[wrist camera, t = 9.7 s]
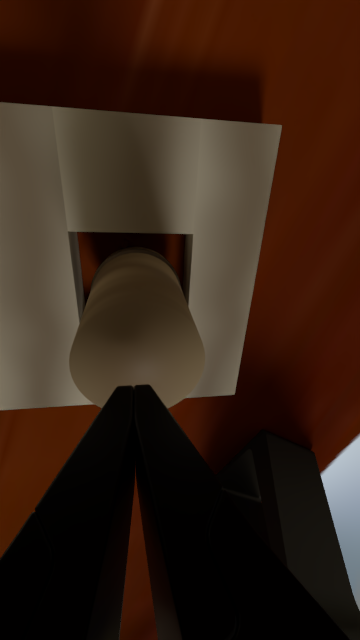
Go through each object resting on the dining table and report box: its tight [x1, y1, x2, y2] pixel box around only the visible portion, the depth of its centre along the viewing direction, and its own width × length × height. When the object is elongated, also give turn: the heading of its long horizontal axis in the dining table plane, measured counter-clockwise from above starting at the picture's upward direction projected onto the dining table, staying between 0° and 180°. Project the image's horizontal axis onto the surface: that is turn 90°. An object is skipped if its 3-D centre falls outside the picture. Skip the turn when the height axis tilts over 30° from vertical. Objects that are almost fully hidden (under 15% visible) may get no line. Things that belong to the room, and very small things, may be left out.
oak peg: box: [69, 247, 205, 408], centre depth 12 cm, size 4×4×8 cm
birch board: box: [0, 102, 282, 410], centre depth 14 cm, size 22×14×2 cm, turn 87°
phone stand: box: [216, 430, 360, 640], centre depth 20 cm, size 9×6×12 cm, turn 145°
